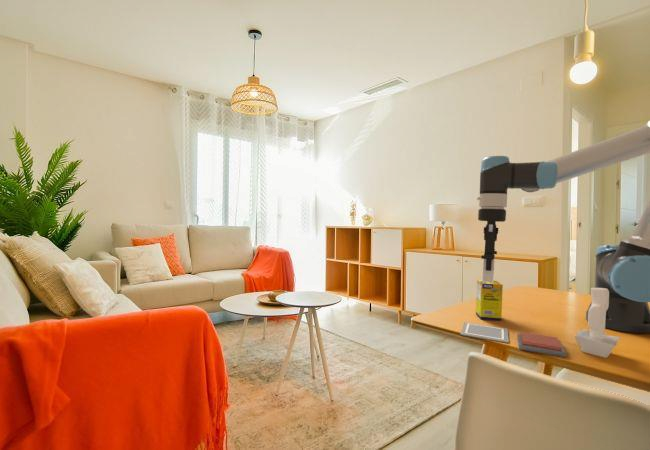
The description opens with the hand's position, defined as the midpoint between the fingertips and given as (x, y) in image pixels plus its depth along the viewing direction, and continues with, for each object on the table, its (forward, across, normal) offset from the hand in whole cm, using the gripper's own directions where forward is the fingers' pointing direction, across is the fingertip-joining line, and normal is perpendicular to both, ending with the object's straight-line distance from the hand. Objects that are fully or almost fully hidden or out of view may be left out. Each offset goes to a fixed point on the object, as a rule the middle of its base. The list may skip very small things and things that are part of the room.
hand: (488, 277), depth 103 cm
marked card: (+12, +16, 0) cm, 20 cm away
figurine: (+12, +17, +24) cm, 31 cm away
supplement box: (+12, 0, +1) cm, 12 cm away
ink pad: (+12, +20, +12) cm, 26 cm away
